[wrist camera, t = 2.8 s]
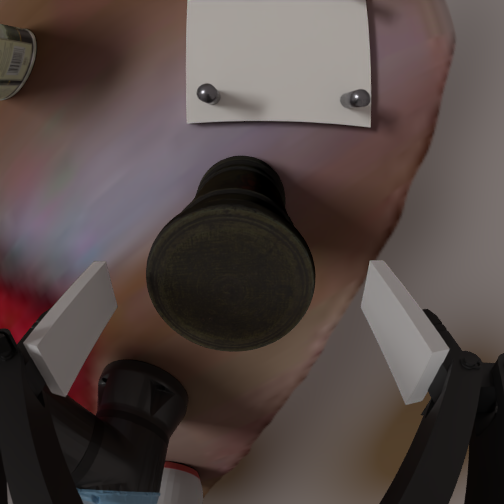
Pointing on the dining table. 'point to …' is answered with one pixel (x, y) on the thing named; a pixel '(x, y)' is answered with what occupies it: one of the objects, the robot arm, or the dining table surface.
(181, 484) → the citrus juicer
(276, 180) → the container
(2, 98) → the coffee can
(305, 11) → the locating plate
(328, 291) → the dining table surface
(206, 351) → the dining table surface
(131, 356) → the dining table surface
